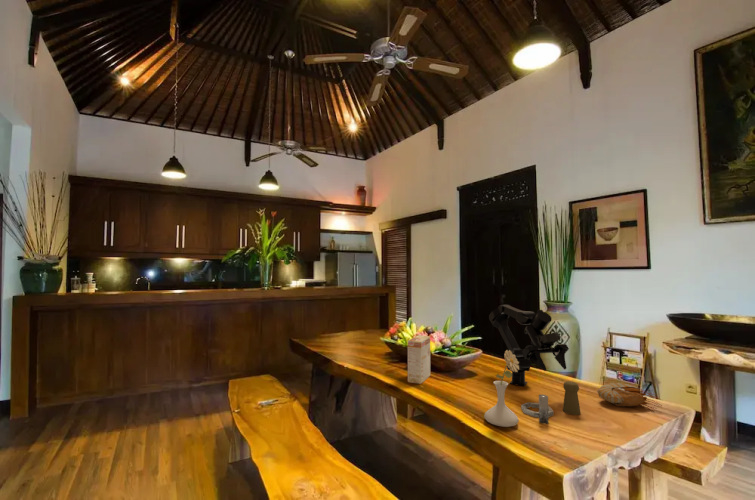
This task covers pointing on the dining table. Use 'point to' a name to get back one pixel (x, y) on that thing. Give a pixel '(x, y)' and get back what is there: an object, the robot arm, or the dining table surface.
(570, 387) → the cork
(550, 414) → the octagon frame
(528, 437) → the dining table surface
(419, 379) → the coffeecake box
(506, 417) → the flower in vase
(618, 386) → the nautilus
